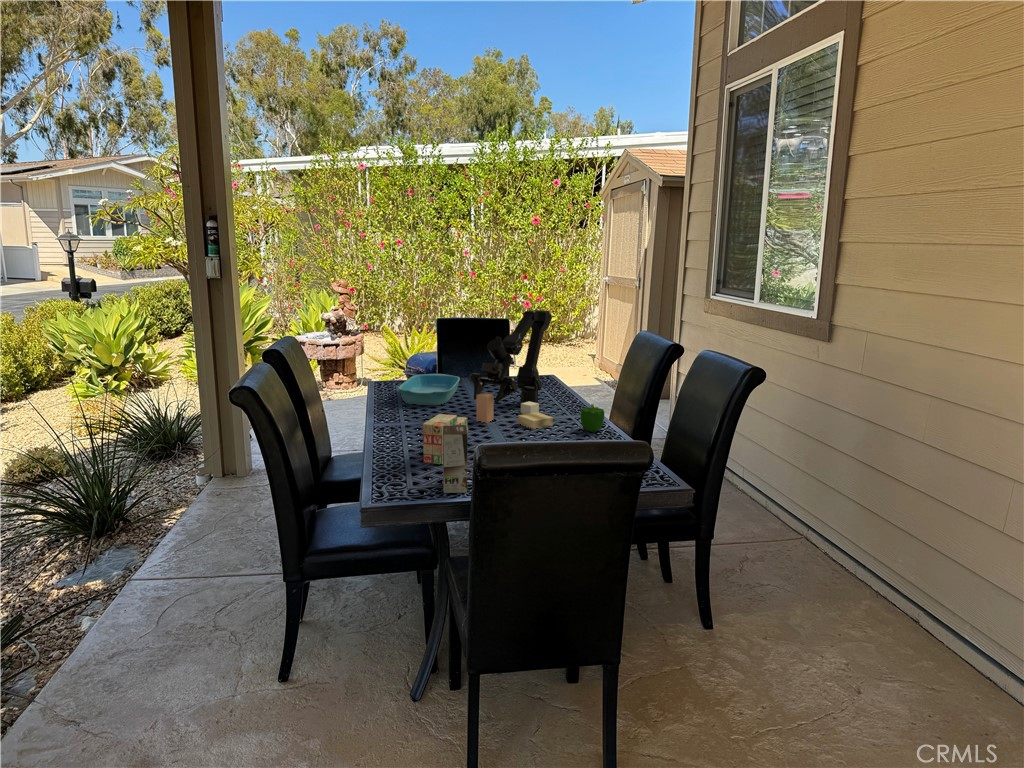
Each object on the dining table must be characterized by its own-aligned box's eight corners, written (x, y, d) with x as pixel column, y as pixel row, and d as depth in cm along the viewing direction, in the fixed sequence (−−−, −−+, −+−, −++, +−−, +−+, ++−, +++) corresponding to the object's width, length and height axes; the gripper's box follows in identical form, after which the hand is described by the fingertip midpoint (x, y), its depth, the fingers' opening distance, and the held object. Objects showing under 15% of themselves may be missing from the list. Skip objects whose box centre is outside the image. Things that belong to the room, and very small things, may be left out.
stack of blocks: (450, 443, 214) (450, 406, 212) (468, 445, 213) (468, 408, 210) (422, 463, 194) (422, 423, 192) (442, 465, 193) (442, 425, 190)
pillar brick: (483, 418, 245) (483, 392, 243) (493, 420, 243) (493, 394, 241) (476, 421, 241) (476, 394, 239) (486, 423, 239) (486, 396, 237)
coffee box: (467, 493, 171) (467, 433, 168) (443, 493, 170) (442, 434, 167) (466, 480, 180) (466, 424, 177) (443, 481, 179) (442, 424, 176)
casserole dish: (448, 409, 259) (448, 391, 258) (393, 407, 261) (392, 390, 259) (463, 389, 295) (463, 374, 293) (415, 388, 297) (414, 372, 295)
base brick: (537, 421, 244) (538, 412, 243) (552, 426, 237) (553, 417, 236) (518, 424, 239) (518, 415, 238) (532, 430, 232) (533, 420, 231)
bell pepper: (585, 425, 237) (586, 399, 235) (606, 429, 233) (608, 402, 231) (575, 431, 230) (576, 403, 228) (597, 434, 226) (598, 406, 224)
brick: (529, 411, 258) (529, 401, 257) (538, 413, 254) (539, 403, 254) (520, 413, 254) (520, 403, 253) (530, 415, 251) (530, 405, 250)
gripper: (472, 351, 246) (454, 385, 239) (514, 356, 236) (497, 391, 229) (483, 369, 254) (467, 402, 247) (525, 374, 245) (509, 409, 238)
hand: (484, 400), depth 240 cm, fingers open, 9 cm apart
